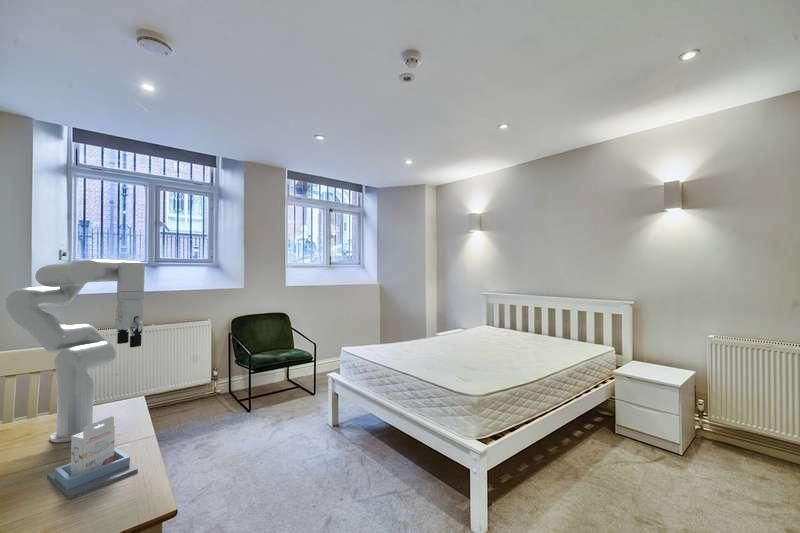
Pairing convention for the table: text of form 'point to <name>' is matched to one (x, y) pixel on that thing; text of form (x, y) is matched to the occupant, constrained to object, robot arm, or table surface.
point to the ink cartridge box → (93, 446)
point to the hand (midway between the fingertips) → (129, 345)
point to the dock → (92, 476)
